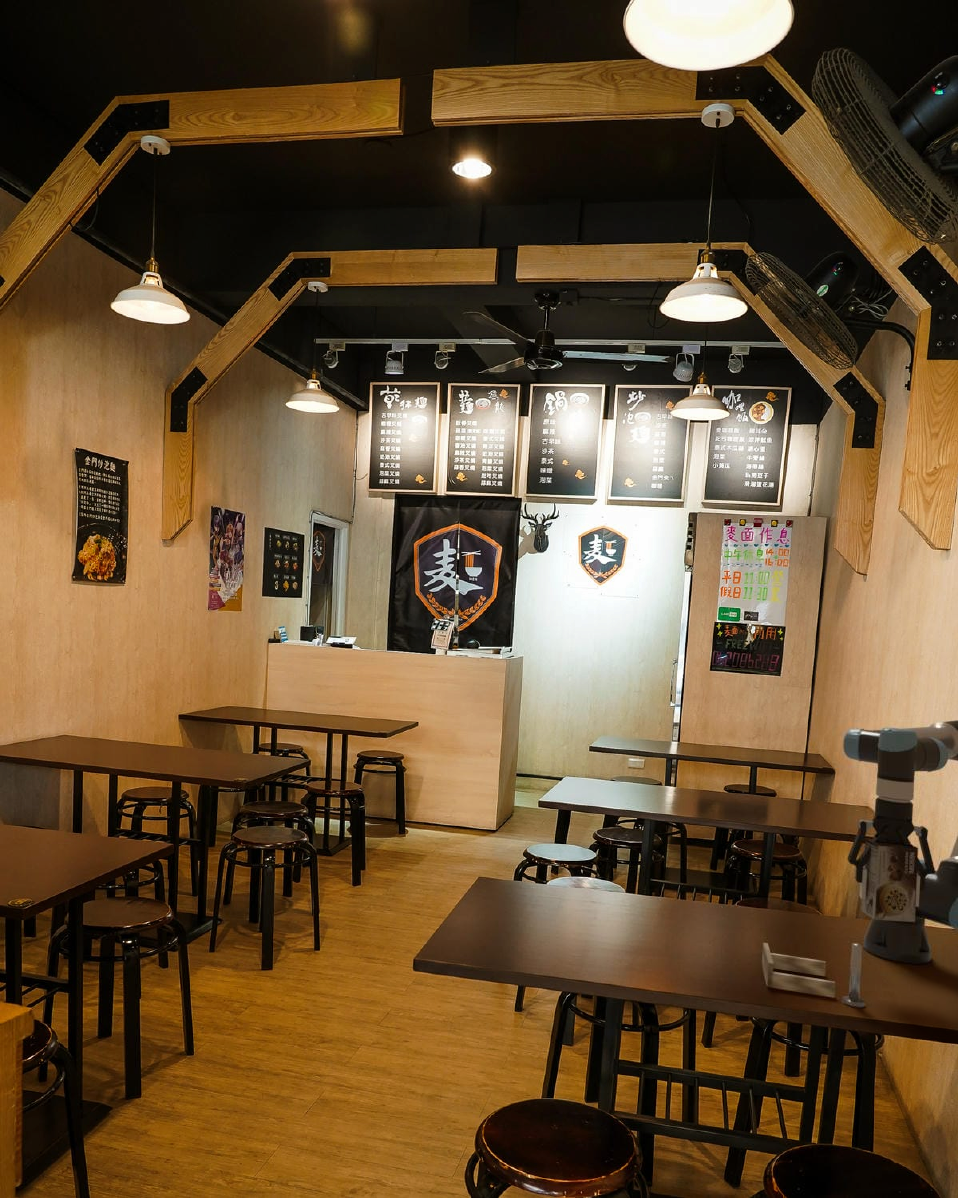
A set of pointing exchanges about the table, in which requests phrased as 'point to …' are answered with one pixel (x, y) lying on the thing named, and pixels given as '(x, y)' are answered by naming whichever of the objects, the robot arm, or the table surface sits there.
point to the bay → (795, 981)
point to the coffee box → (891, 881)
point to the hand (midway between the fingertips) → (888, 901)
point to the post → (855, 978)
